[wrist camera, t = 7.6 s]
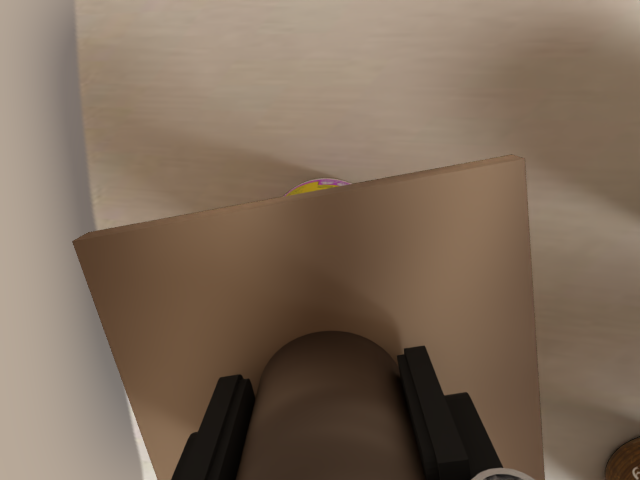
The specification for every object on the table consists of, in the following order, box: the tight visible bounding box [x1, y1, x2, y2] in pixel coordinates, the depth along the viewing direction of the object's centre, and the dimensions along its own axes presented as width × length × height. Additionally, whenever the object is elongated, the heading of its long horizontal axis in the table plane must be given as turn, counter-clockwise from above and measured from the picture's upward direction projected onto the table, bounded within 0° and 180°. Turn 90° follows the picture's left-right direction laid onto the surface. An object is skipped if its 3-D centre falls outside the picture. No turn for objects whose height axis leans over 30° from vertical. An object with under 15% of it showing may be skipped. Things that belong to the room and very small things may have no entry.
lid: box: [73, 155, 545, 480], centre depth 11 cm, size 11×11×6 cm
